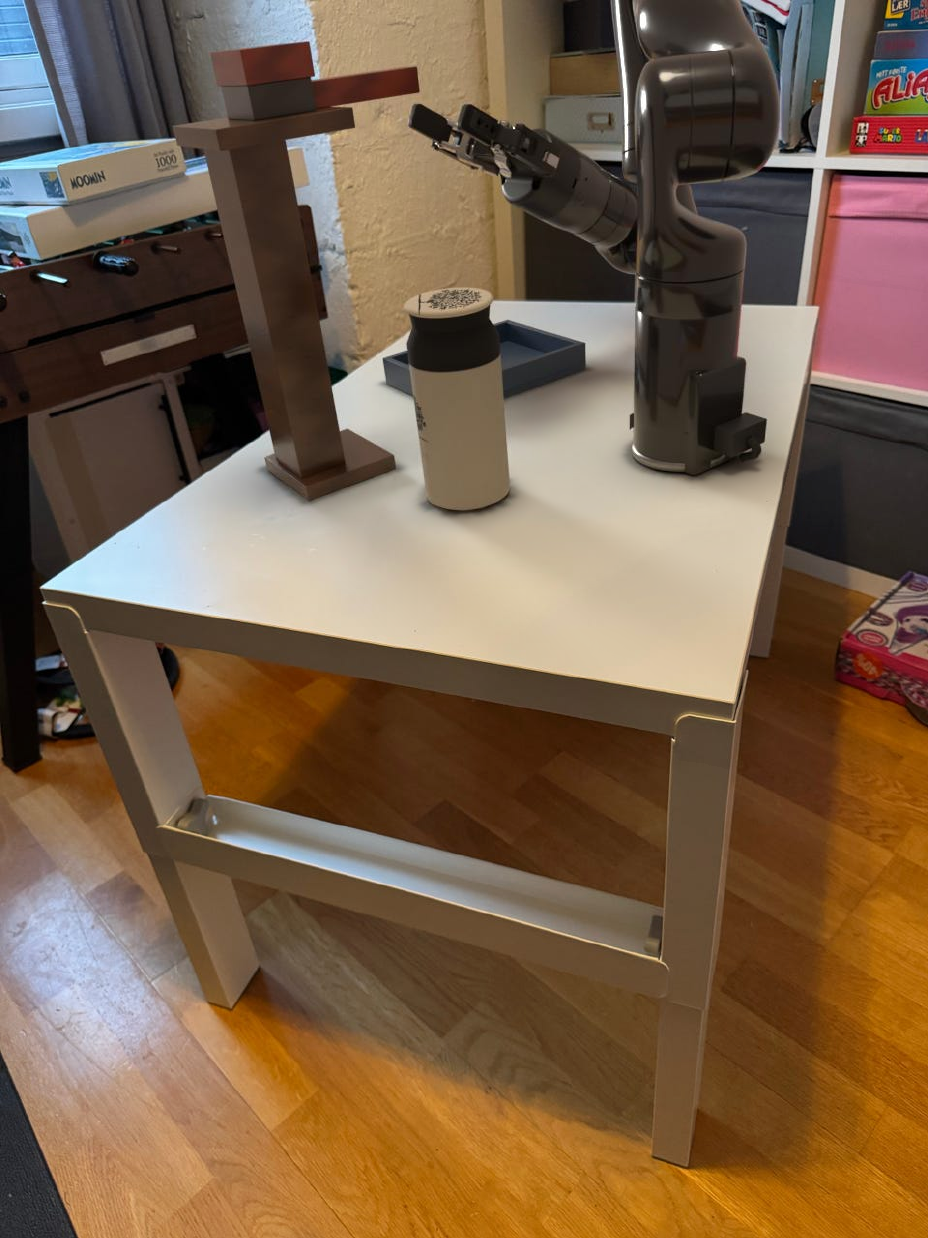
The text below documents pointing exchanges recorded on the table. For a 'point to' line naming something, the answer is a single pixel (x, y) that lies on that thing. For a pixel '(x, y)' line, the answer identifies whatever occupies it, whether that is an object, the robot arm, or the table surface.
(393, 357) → the tray
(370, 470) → the wooden pedestal stand
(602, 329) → the table surface
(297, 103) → the brush
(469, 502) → the travel mug
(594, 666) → the table surface
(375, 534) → the table surface
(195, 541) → the table surface
